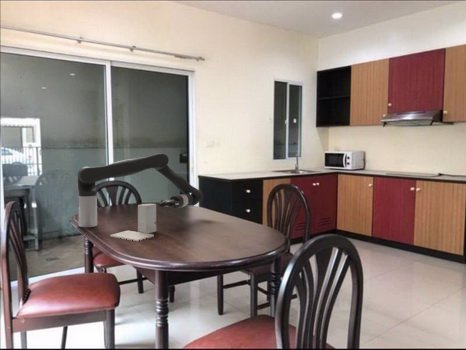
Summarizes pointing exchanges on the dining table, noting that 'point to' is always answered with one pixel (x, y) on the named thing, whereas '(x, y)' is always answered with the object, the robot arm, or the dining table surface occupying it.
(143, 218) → the skincare box
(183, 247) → the dining table surface
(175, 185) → the robot arm
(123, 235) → the mat
